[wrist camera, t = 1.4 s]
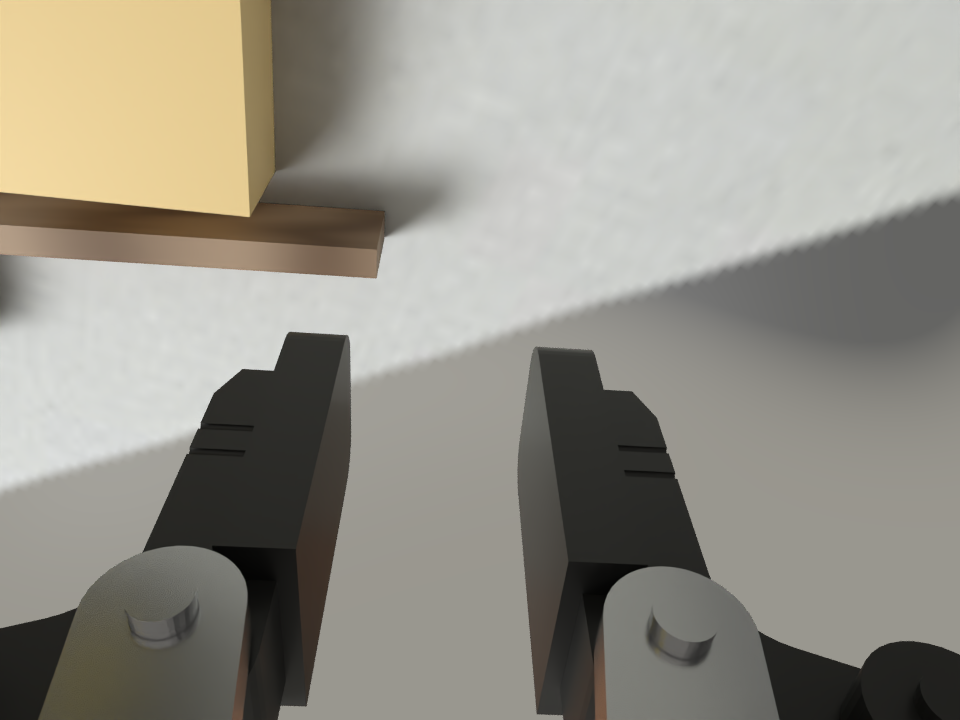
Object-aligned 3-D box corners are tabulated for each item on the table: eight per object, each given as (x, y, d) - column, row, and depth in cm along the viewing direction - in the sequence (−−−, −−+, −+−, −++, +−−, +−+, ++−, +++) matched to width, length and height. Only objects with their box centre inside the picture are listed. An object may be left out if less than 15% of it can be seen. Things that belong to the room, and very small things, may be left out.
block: (271, -68, 22) (237, -50, 19) (276, 168, 26) (249, 217, 23) (15, -101, 22) (-65, -90, 19) (59, 146, 26) (-1, 191, 22)
